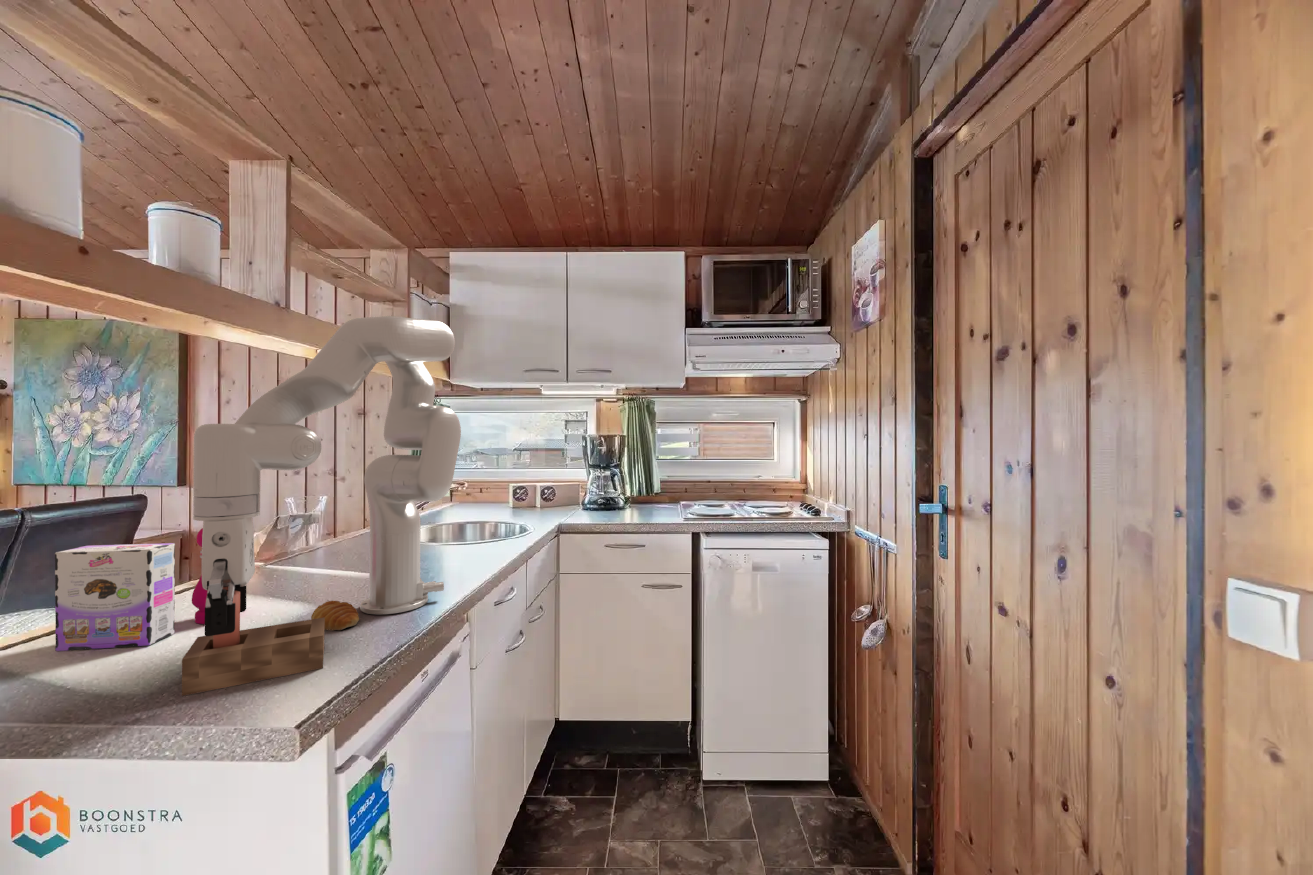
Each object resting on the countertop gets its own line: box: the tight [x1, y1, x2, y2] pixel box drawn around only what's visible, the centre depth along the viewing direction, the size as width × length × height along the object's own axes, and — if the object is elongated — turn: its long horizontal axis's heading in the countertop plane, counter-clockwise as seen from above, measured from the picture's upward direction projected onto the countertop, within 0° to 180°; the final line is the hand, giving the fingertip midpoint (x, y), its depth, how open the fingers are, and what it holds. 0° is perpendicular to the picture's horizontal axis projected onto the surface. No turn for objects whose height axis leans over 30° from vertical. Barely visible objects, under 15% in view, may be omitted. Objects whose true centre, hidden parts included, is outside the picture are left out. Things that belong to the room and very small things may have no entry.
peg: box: [213, 591, 241, 649], centre depth 74 cm, size 3×3×10 cm
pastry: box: [310, 600, 360, 631], centre depth 95 cm, size 9×7×4 cm
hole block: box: [181, 617, 326, 697], centre depth 76 cm, size 16×9×5 cm, turn 122°
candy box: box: [54, 542, 176, 652], centre depth 86 cm, size 14×6×16 cm, turn 99°
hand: (226, 622), depth 74 cm, fingers open, 9 cm apart
